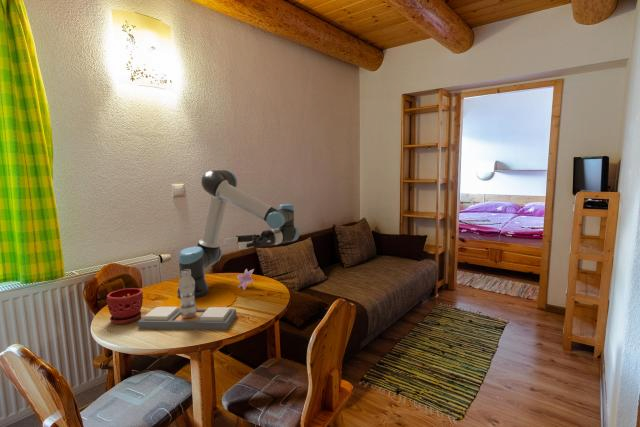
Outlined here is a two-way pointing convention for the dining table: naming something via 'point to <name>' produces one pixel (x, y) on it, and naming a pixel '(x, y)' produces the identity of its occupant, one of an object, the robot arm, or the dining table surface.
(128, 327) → the dining table surface
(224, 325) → the keypad frame
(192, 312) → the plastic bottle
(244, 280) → the lily
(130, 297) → the plant pot
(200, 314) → the orange key
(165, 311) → the pale key
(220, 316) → the pale key
